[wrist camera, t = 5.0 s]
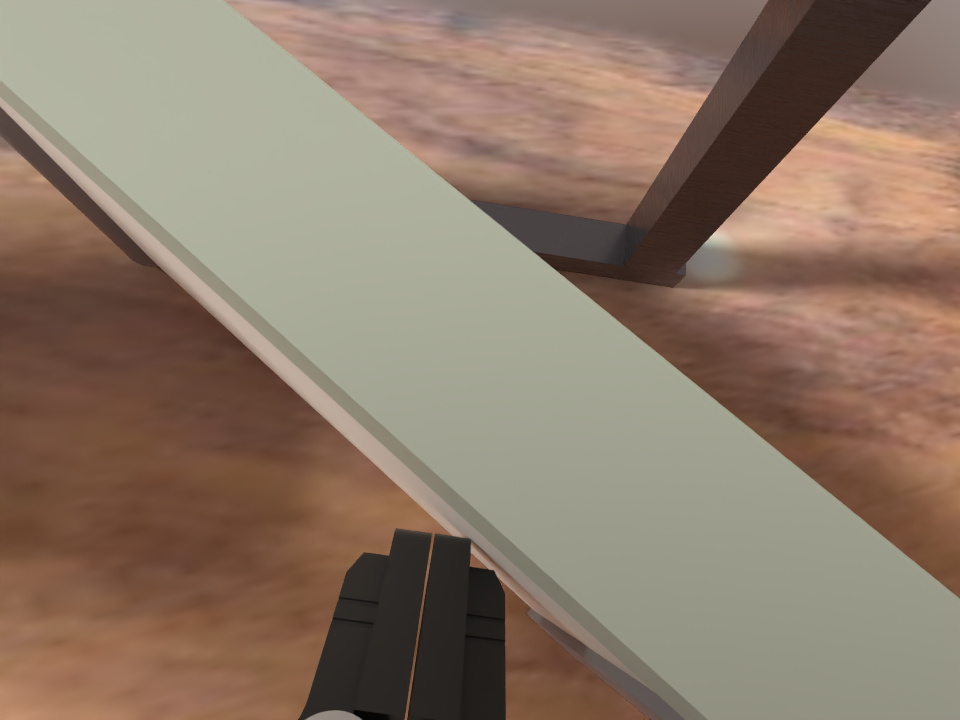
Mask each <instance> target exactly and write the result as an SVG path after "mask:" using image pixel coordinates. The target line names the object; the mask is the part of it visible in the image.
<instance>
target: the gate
mask: <svg viewBox="0 0 960 720" xmlns="http://www.w3.org/2000/svg"><path fill="white" fill-rule="evenodd" d="M0 136H1V137H3V138H4V139H5V140H6V141H7V142H8V143H9V144H10V145H11V146H12V147H13V148H14V149H15V150H16V151H17V152H18V153H19V154H21V155H22V156H23V157H24V158H25V159H26V160H27V161H28V162H29V163H30V164H31V165H32V166H33V167H34V168H35V169H36V170H38V171H39V172H40V173H41V174H42V175H43V176H44V177H45V178H46V179H47V180H48V181H49V182H50V183H51V184H52V185H53V186H55V187H56V188H57V189H58V190H59V191H60V192H61V193H62V194H63V195H64V196H65V197H66V198H67V199H68V200H69V201H70V202H72V203H73V204H74V205H75V206H76V207H77V208H78V209H79V210H80V211H81V212H82V213H83V214H84V215H85V216H86V217H87V218H88V219H90V220H91V221H92V222H93V223H94V224H95V225H96V226H97V227H98V228H99V229H100V230H101V231H102V232H103V233H104V234H105V235H107V236H108V237H109V238H110V239H111V240H112V241H113V242H114V243H115V244H116V245H117V246H118V247H119V248H120V249H121V250H122V251H124V252H125V253H126V254H127V255H128V256H129V257H130V258H131V259H132V260H133V261H135V262H137V263H139V264H141V265H144V266H159V267H160V268H161V269H162V270H163V271H165V272H166V273H167V274H168V275H169V276H170V277H171V278H172V279H173V280H174V281H175V282H177V283H178V284H179V285H180V286H181V287H182V288H183V289H184V290H185V291H186V292H187V293H188V294H190V295H191V296H192V297H193V298H194V299H195V300H196V301H197V302H198V303H199V304H200V305H202V306H203V307H204V308H205V309H206V310H207V311H208V312H209V313H210V314H211V315H212V316H214V317H215V318H216V319H217V320H218V321H219V322H220V323H221V324H222V325H223V326H224V327H226V328H227V329H228V330H229V331H230V332H231V333H232V334H233V335H234V336H235V337H236V338H238V339H239V340H240V341H241V342H242V343H243V344H244V345H245V346H246V347H247V348H248V349H250V350H251V351H252V352H253V353H254V354H255V355H256V356H257V357H258V358H259V359H260V360H261V361H263V362H264V363H265V364H266V365H267V366H268V367H269V368H270V369H271V370H272V371H273V372H275V373H276V374H277V375H278V376H279V377H280V378H281V379H282V380H283V381H284V382H285V383H287V384H288V385H289V386H290V387H291V388H292V389H293V390H294V391H295V392H296V393H297V394H299V395H300V396H301V397H302V398H303V399H304V400H305V401H306V402H307V403H308V404H309V405H311V406H312V407H313V408H314V409H315V410H316V411H317V412H318V413H319V414H320V415H321V416H323V417H324V418H325V419H326V420H327V421H328V422H329V423H330V424H331V425H332V426H333V427H335V428H336V429H337V430H338V431H339V432H340V433H341V434H342V435H343V436H344V437H345V438H346V439H348V440H349V441H350V442H351V443H352V444H353V445H354V446H355V447H356V448H357V449H358V450H360V451H361V452H362V453H363V454H364V455H365V456H366V457H367V458H368V459H369V460H370V461H372V462H373V463H374V464H375V465H376V466H377V467H378V468H379V469H380V470H381V471H382V472H384V473H385V474H386V475H387V476H388V477H389V478H390V479H391V480H392V481H393V482H394V483H396V484H397V485H398V486H399V487H400V488H401V489H402V490H403V491H404V492H405V493H406V494H408V495H409V496H410V497H411V498H412V499H413V500H414V501H415V502H416V503H417V504H418V505H420V506H421V507H422V508H423V509H424V510H425V511H426V512H427V513H428V514H429V515H430V516H431V517H433V518H434V519H435V520H436V521H437V522H438V523H439V524H440V525H441V526H442V527H443V528H445V529H446V530H447V531H448V532H449V533H450V534H451V535H452V536H455V537H462V538H469V539H471V553H472V554H473V555H474V556H475V557H476V558H477V559H478V560H479V561H481V562H482V563H483V564H484V565H485V566H486V567H487V568H488V569H489V570H494V571H495V573H496V575H497V577H498V578H499V579H500V580H501V581H502V582H503V583H504V584H506V585H507V586H508V587H509V588H510V589H511V590H512V591H513V592H514V593H515V594H516V595H518V596H519V597H520V598H521V599H522V600H523V601H524V602H525V603H526V604H527V605H528V606H530V607H531V608H530V609H529V610H528V612H527V613H526V614H527V615H528V616H529V617H530V618H531V619H532V620H533V621H535V622H536V623H537V624H538V625H539V626H540V627H541V628H542V629H543V630H544V631H545V632H547V633H548V634H549V635H550V636H551V637H552V638H553V639H554V640H555V641H556V642H557V643H558V644H560V645H561V646H562V647H563V648H564V649H565V650H566V651H567V652H568V653H569V654H571V655H572V656H573V657H574V658H576V659H577V660H578V661H579V662H580V663H582V664H583V665H584V666H585V667H587V668H588V669H589V670H590V671H591V672H593V673H594V674H595V675H596V676H598V677H599V678H600V679H601V680H603V681H604V682H605V683H606V684H607V685H609V686H610V687H611V688H612V689H614V690H615V691H616V692H617V693H618V694H620V695H621V696H622V697H623V698H625V699H626V700H627V701H628V702H630V703H631V704H632V705H633V706H634V707H636V708H637V709H638V710H639V711H641V712H642V713H643V714H644V715H645V716H647V717H648V718H649V719H650V720H960V598H958V597H957V596H956V595H955V594H953V593H952V592H951V591H950V590H949V589H947V588H946V587H945V586H944V585H942V584H941V583H940V582H939V581H937V580H936V579H935V578H934V577H933V576H931V575H930V574H929V573H928V572H926V571H925V570H924V569H923V568H921V567H920V566H919V565H918V564H917V563H915V562H914V561H913V560H912V559H910V558H909V557H908V556H907V555H905V554H904V553H903V552H902V551H901V550H899V549H898V548H897V547H896V546H894V545H893V544H892V543H891V542H889V541H888V540H887V539H886V538H885V537H883V536H882V535H881V534H880V533H878V532H877V531H876V530H875V529H873V528H872V527H871V526H870V525H869V524H867V523H866V522H865V521H864V520H862V519H861V518H860V517H859V516H857V515H856V514H855V513H854V512H853V511H851V510H850V509H849V508H848V507H846V506H845V505H844V504H843V503H841V502H840V501H839V500H838V499H837V498H835V497H834V496H833V495H832V494H830V493H829V492H828V491H827V490H825V489H824V488H823V487H822V486H821V485H819V484H818V483H817V482H816V481H814V480H813V479H812V478H811V477H809V476H808V475H807V474H806V473H805V472H803V471H802V470H801V469H800V468H798V467H797V466H796V465H795V464H793V463H792V462H791V461H790V460H789V459H787V458H786V457H785V456H784V455H782V454H781V453H780V452H779V451H778V450H776V449H775V448H774V447H773V446H771V445H770V444H769V443H768V442H766V441H765V440H764V439H763V438H762V437H760V436H759V435H758V434H757V433H755V432H754V431H753V430H752V429H750V428H749V427H748V426H747V425H746V424H744V423H743V422H742V421H741V420H739V419H738V418H737V417H736V416H734V415H733V414H732V413H731V412H730V411H728V410H727V409H726V408H725V407H723V406H722V405H721V404H720V403H718V402H717V401H716V400H715V399H714V398H712V397H711V396H710V395H709V394H707V393H706V392H705V391H704V390H702V389H701V388H700V387H699V386H698V385H696V384H695V383H694V382H693V381H691V380H690V379H689V378H688V377H686V376H685V375H684V374H683V373H682V372H680V371H679V370H678V369H677V368H675V367H674V366H673V365H672V364H670V363H669V362H668V361H667V360H666V359H664V358H663V357H662V356H661V355H659V354H658V353H657V352H656V351H654V350H653V349H652V348H651V347H650V346H648V345H647V344H646V343H645V342H643V341H642V340H641V339H640V338H638V337H637V336H636V335H635V334H634V333H632V332H631V331H630V330H629V329H627V328H626V327H625V326H624V325H622V324H621V323H620V322H619V321H618V320H616V319H615V318H614V317H613V316H611V315H610V314H609V313H608V312H606V311H605V310H604V309H603V308H602V307H600V306H599V305H598V304H597V303H595V302H594V301H593V300H592V299H590V298H589V297H588V296H587V295H586V294H584V293H583V292H582V291H581V290H579V289H578V288H577V287H576V286H574V285H573V284H572V283H571V282H570V281H568V280H567V279H566V278H565V277H563V276H562V275H561V274H560V273H558V272H557V271H556V270H555V269H554V268H552V267H551V266H550V265H549V264H547V263H546V262H545V261H544V260H542V259H541V258H540V257H539V256H538V255H536V254H535V253H534V252H533V251H531V250H530V249H529V248H528V247H526V246H525V245H524V244H523V243H522V242H520V241H519V240H518V239H517V238H515V237H514V236H513V235H512V234H510V233H509V232H508V231H507V230H506V229H504V228H503V227H502V226H501V225H499V224H498V223H497V222H496V221H494V220H493V219H492V218H491V217H490V216H488V215H487V214H486V213H485V212H483V211H482V210H481V209H480V208H478V207H477V206H476V205H475V204H474V203H472V202H471V201H470V200H469V199H467V198H466V197H465V196H464V195H462V194H461V193H460V192H459V191H458V190H456V189H455V188H454V187H453V186H451V185H450V184H449V183H448V182H446V181H445V180H444V179H443V178H442V177H440V176H439V175H438V174H437V173H435V172H434V171H433V170H432V169H430V168H429V167H428V166H427V165H426V164H424V163H423V162H422V161H421V160H419V159H418V158H417V157H416V156H414V155H413V154H412V153H411V152H410V151H408V150H407V149H406V148H405V147H403V146H402V145H401V144H400V143H398V142H397V141H396V140H395V139H394V138H392V137H391V136H390V135H389V134H387V133H386V132H385V131H384V130H382V129H381V128H380V127H379V126H378V125H376V124H375V123H374V122H373V121H371V120H370V119H369V118H368V117H366V116H365V115H364V114H363V113H362V112H360V111H359V110H358V109H357V108H355V107H354V106H353V105H352V104H350V103H349V102H348V101H347V100H346V99H344V98H343V97H342V96H341V95H339V94H338V93H337V92H336V91H334V90H333V89H332V88H331V87H330V86H328V85H327V84H326V83H325V82H323V81H322V80H321V79H320V78H318V77H317V76H316V75H315V74H314V73H312V72H311V71H310V70H309V69H307V68H306V67H305V66H304V65H302V64H301V63H300V62H299V61H298V60H296V59H295V58H294V57H293V56H291V55H290V54H289V53H288V52H286V51H285V50H284V49H283V48H282V47H280V46H279V45H278V44H277V43H275V42H274V41H273V40H272V39H270V38H269V37H268V36H267V35H266V34H264V33H263V32H262V31H261V30H259V29H258V28H257V27H256V26H254V25H253V24H252V23H251V22H250V21H248V20H247V19H246V18H245V17H243V16H242V15H241V14H240V13H238V12H237V11H236V10H235V9H234V8H232V7H231V6H230V5H229V4H227V3H226V2H225V1H224V0H0Z"/></svg>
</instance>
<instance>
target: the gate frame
mask: <svg viewBox="0 0 960 720" xmlns="http://www.w3.org/2000/svg"><path fill="white" fill-rule="evenodd" d="M930 1H931V0H769V1H768V2H767V4H766V5H765V7H764V9H763V10H762V12H761V13H760V15H759V16H758V18H757V20H756V21H755V23H754V24H753V26H752V27H751V29H750V31H749V32H748V34H747V35H746V37H745V38H744V40H743V42H742V43H741V45H740V46H739V48H738V50H737V51H736V53H735V54H734V56H733V57H732V59H731V61H730V62H729V64H728V65H727V67H726V68H725V70H724V72H723V73H722V75H721V76H720V78H719V80H718V81H717V83H716V84H715V86H714V87H713V89H712V91H711V92H710V94H709V95H708V97H707V98H706V100H705V102H704V103H703V105H702V106H701V108H700V110H699V111H698V113H697V114H696V116H695V117H694V119H693V121H692V122H691V124H690V125H689V127H688V128H687V130H686V132H685V133H684V135H683V136H682V138H681V140H680V141H679V143H678V144H677V146H676V147H675V149H674V151H673V152H672V154H671V155H670V157H669V158H668V160H667V162H666V163H665V165H664V166H663V168H662V170H661V171H660V173H659V174H658V176H657V177H656V179H655V181H654V182H653V184H652V185H651V187H650V188H649V190H648V192H647V193H646V195H645V196H644V198H643V200H642V201H641V203H640V204H639V206H638V207H637V209H636V211H635V212H634V214H633V215H632V217H631V218H630V220H629V222H628V223H627V225H625V224H619V223H612V222H606V221H600V220H593V219H587V218H581V217H574V216H568V215H562V214H555V213H549V212H543V211H536V210H530V209H524V208H518V207H511V206H505V205H499V204H492V203H486V202H480V201H473V200H470V201H471V202H472V203H474V204H475V205H476V206H477V207H478V208H480V209H481V210H482V211H483V212H485V213H486V214H487V215H488V216H490V217H491V218H492V219H493V220H494V221H496V222H497V223H498V224H499V225H501V226H502V227H503V228H504V229H506V230H507V231H508V232H509V233H510V234H512V235H513V236H514V237H515V238H517V239H518V240H519V241H520V242H522V243H523V244H524V245H525V246H526V247H528V248H529V249H530V250H531V251H533V252H534V253H535V254H536V255H538V256H539V257H540V258H541V259H542V260H544V261H545V262H546V263H547V264H549V265H550V266H551V267H552V268H554V269H558V270H565V271H571V272H578V273H584V274H591V275H597V276H604V277H610V278H617V279H623V280H630V281H636V282H643V283H649V284H656V285H662V286H669V287H674V286H675V285H676V284H677V283H678V282H679V281H680V280H681V279H682V278H683V277H684V276H685V274H686V262H687V261H688V260H689V259H690V258H691V257H692V256H693V255H694V253H695V252H696V251H697V250H698V249H699V248H700V247H701V246H702V245H703V244H704V243H705V242H706V241H707V240H708V239H709V237H710V236H711V235H712V234H713V233H714V232H715V231H716V230H717V229H718V228H719V227H720V226H721V225H722V224H723V222H724V221H725V220H726V219H727V218H728V217H729V216H730V215H731V214H732V213H733V212H734V211H735V210H736V209H737V208H738V206H739V205H740V204H741V203H742V202H743V201H744V200H745V199H746V198H747V197H748V196H749V195H750V194H751V193H752V192H753V190H754V189H755V188H756V187H757V186H758V185H759V184H760V183H761V182H762V181H763V180H764V179H765V178H766V177H767V175H768V174H769V173H770V172H771V171H772V170H773V169H774V168H775V167H776V166H777V165H778V164H779V163H780V162H781V161H782V159H783V158H784V157H785V156H786V155H787V154H788V153H789V152H790V151H791V150H792V149H793V148H794V147H795V146H796V144H797V143H798V142H799V141H800V140H801V139H802V138H803V137H804V136H805V135H806V134H807V133H808V132H809V131H810V130H811V128H812V127H813V126H814V125H815V124H816V123H817V122H818V121H819V120H820V119H821V118H822V117H823V116H824V115H825V113H826V112H827V111H828V110H829V109H830V108H831V107H832V106H833V105H834V104H835V103H836V102H837V101H838V100H839V99H840V97H841V96H842V95H843V94H844V93H845V92H846V91H847V90H848V89H849V88H850V87H851V86H852V85H853V84H854V82H855V81H856V80H857V79H858V78H859V77H860V76H861V75H862V74H863V73H864V72H865V71H866V70H867V69H868V67H869V66H870V65H871V64H872V63H873V62H874V61H875V60H876V59H877V58H878V57H879V56H880V55H881V54H882V53H883V52H884V50H885V49H886V48H887V47H888V46H889V45H890V44H891V43H892V42H893V41H894V40H895V39H896V37H898V35H899V34H900V33H901V32H902V31H903V30H904V29H905V28H906V27H907V26H908V25H909V24H910V23H911V21H913V19H914V18H915V17H916V16H917V15H918V14H919V13H920V12H921V11H922V10H923V9H924V8H925V7H926V5H927V4H928V3H929V2H930Z"/></svg>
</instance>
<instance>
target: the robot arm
mask: <svg viewBox="0 0 960 720" xmlns="http://www.w3.org/2000/svg"><path fill="white" fill-rule="evenodd" d="M431 537H432V533H425V532H418V531H411V530H404V529H397V528H396V530H395V533H394V538H393V542H392V546H391V551H390V555H389V556H386V555H379V554H372V553H365V552H364V553H363V554H362V555H361V556H360V558H359V559H358V560H357V561H356V562H355V563H354V564H353V566H352V567H351V568H350V569H349V570H348V571H347V573H346V576H345V579H344V583H343V586H342V589H341V592H340V596H339V601H338V602H337V606H336V609H335V612H334V615H333V620H332V623H331V625H330V628H329V632H328V635H327V638H326V642H325V645H324V648H323V651H322V655H321V658H320V661H319V664H318V668H317V671H316V674H315V678H314V681H313V684H312V687H311V691H310V694H309V697H308V701H307V703H306V706H305V708H304V710H303V712H302V714H301V716H300V718H299V719H298V720H404V718H405V711H406V704H407V698H408V691H409V684H410V678H411V671H412V664H413V657H414V651H415V644H416V637H417V631H418V624H419V617H420V611H421V604H422V597H423V590H424V584H425V577H426V570H427V564H428V557H429V550H430V543H431ZM470 553H471V539H469V538H462V537H455V536H448V535H441V534H435V537H434V544H433V550H432V556H431V563H430V569H429V575H428V581H427V588H426V594H425V601H424V607H423V614H422V621H421V628H420V635H419V642H418V649H417V656H416V662H415V669H414V676H413V683H412V690H411V697H410V704H409V711H408V718H407V720H506V700H505V593H504V591H503V588H502V586H501V584H500V582H499V580H498V578H497V575H496V573H495V571H494V570H489V569H481V568H474V567H470Z"/></svg>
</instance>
